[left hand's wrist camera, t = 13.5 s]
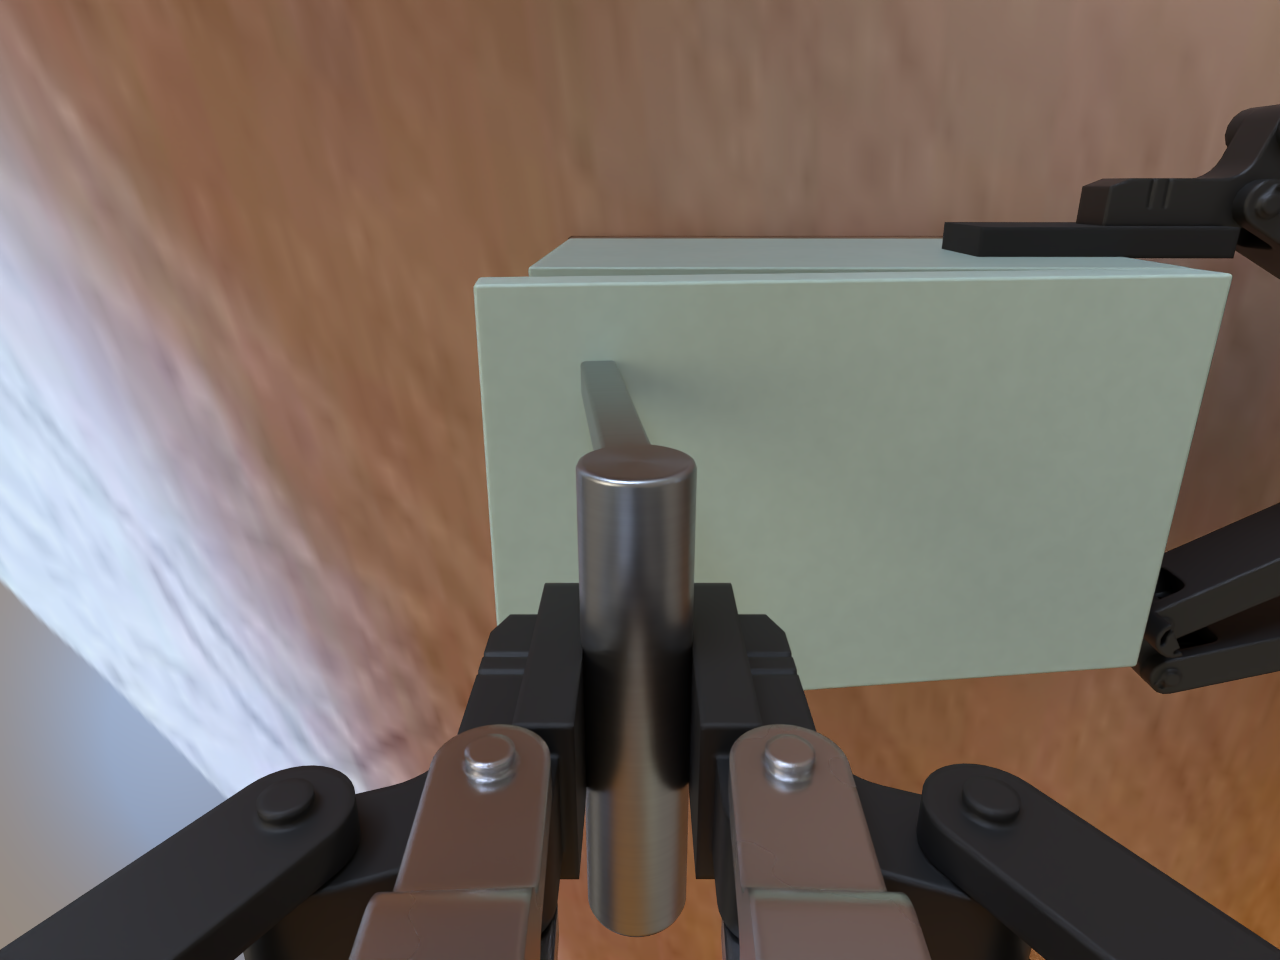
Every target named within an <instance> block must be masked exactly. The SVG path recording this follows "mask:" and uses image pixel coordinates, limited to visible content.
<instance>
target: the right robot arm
mask: <svg viewBox="0 0 1280 960" xmlns="http://www.w3.org/2000/svg"><path fill="white" fill-rule="evenodd" d="M1225 141H1226V145H1227V149H1226V151H1225V153H1224V154H1223V156H1222V158H1221V159H1220V161H1219V162H1218V163H1217V165H1216V166H1215V167H1214V168H1213V169H1212V170H1211V171H1209V172H1208V173H1206V174H1204V175H1203V176H1200V177H1197V178H1192V179H1191V178H1125V179H1101V180H1098V181H1096V182H1093V183H1090V184H1088V185H1085V186H1083V187H1082V193H1081V198H1080V204H1079V209H1078V215H1077V221H1076V222H945V225H944V233H943V241H942V249H945V250H949V251H954V252H958V253H962V254H967V255H971V256H976V257H1126V258H1233V257H1234V253H1235V250H1236V251H1237V252H1239V253H1240V254H1242V255H1243V256H1245V257H1246V258H1248V259H1249V260H1251V261H1253V262H1254V263H1256V264H1257V265H1259V266H1260V267H1262V268H1263V269H1265V270H1266V271H1268V272H1269V273H1271V274H1272V275H1274V276H1275V277H1277V278H1279V279H1280V104H1279V105H1272V106H1264V107H1256V108H1249V109H1247V110H1244V111H1241V112H1240V113H1239V114H1237V115H1236V116H1235V117H1234V118H1233V119H1232V120H1231V122H1230V123H1229V125H1228V127H1227V130H1226V134H1225ZM1131 668H1132V669H1133V670H1134V671H1135V672H1136V673H1137V674H1138V675H1139V676H1140V677H1141V678H1142V679H1143V680H1144V681H1146V682H1147V683H1148V684H1149V685H1150V686H1151V687H1152V688H1153V689H1154V690H1155V691H1156V692H1159V693H1162V694H1171V693H1175V692H1180V691H1185V690H1190V689H1195V688H1200V687H1204V686H1209V685H1214V684H1219V683H1224V682H1228V681H1233V680H1238V679H1243V678H1248V677H1253V676H1257V675H1262V674H1267V673H1272V672H1277V671H1280V503H1278V504H1276V505H1273V506H1271V507H1269V508H1266V509H1264V510H1262V511H1260V512H1257V513H1255V514H1253V515H1250V516H1248V517H1246V518H1244V519H1241V520H1239V521H1237V522H1234V523H1232V524H1230V525H1228V526H1225V527H1223V528H1221V529H1218V530H1216V531H1214V532H1211V533H1209V534H1207V535H1205V536H1202V537H1200V538H1198V539H1195V540H1193V541H1191V542H1189V543H1186V544H1184V545H1182V546H1179V547H1177V548H1175V549H1173V550H1170V551H1168V552H1166V553H1164V556H1163V560H1162V564H1161V568H1160V572H1159V576H1158V580H1157V584H1156V588H1155V592H1154V596H1153V600H1152V604H1151V608H1150V612H1149V616H1148V620H1147V624H1146V628H1145V633H1144V637H1143V641H1142V645H1141V649H1140V653H1139V657H1138V661H1137V664H1136V666H1133V667H1131Z"/></svg>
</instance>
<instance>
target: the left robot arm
mask: <svg viewBox="0 0 1280 960" xmlns="http://www.w3.org/2000/svg"><path fill="white" fill-rule="evenodd" d="M688 783H689V796H690V809H691V822H692V835H693V848H694V861H695V873H696V879H715V885H716V895H717V904H718V909H719V912H720V915H721V917H722V926H721V942H722V958H723V960H1030V959H1029V956H1030V952H1031V948H1033V949H1034V950H1035V951H1036V952H1037V953H1038V954H1040V955H1041V956H1042V957H1043V958H1044V959H1046V960H1280V950H1279V949H1278V948H1276V947H1275V946H1273V945H1272V944H1270V943H1269V942H1267V941H1266V940H1264V939H1263V938H1261V937H1260V936H1258V935H1257V934H1255V933H1254V932H1252V931H1251V930H1249V929H1248V928H1246V927H1245V926H1243V925H1242V924H1240V923H1239V922H1237V921H1235V920H1234V919H1232V918H1231V917H1229V916H1228V915H1226V914H1225V913H1223V912H1222V911H1220V910H1219V909H1217V908H1216V907H1214V906H1213V905H1211V904H1210V903H1208V902H1207V901H1205V900H1204V899H1202V898H1201V897H1199V896H1198V895H1196V894H1195V893H1193V892H1192V891H1190V890H1189V889H1187V888H1186V887H1184V886H1183V885H1181V884H1180V883H1178V882H1177V881H1175V880H1174V879H1172V878H1171V877H1169V876H1168V875H1166V874H1165V873H1163V872H1162V871H1160V870H1159V869H1157V868H1156V867H1154V866H1152V865H1151V864H1149V863H1148V862H1146V861H1145V860H1143V859H1142V858H1140V857H1139V856H1137V855H1136V854H1134V853H1133V852H1131V851H1130V850H1128V849H1127V848H1125V847H1124V846H1122V845H1121V844H1119V843H1118V842H1116V841H1115V840H1113V839H1112V838H1110V837H1109V836H1107V835H1106V834H1104V833H1103V832H1101V831H1100V830H1098V829H1097V828H1095V827H1094V826H1092V825H1091V824H1089V823H1088V822H1086V821H1085V820H1083V819H1082V818H1080V817H1079V816H1077V815H1076V814H1074V813H1073V812H1071V811H1069V810H1068V809H1066V808H1065V807H1063V806H1062V805H1060V804H1059V803H1057V802H1056V801H1054V800H1053V799H1051V798H1050V797H1048V796H1047V795H1045V794H1044V793H1042V792H1041V791H1039V790H1038V789H1036V788H1035V787H1033V786H1032V785H1030V784H1029V783H1027V782H1025V781H1024V780H1022V779H1020V778H1019V777H1016V776H1014V775H1012V774H1010V773H1008V772H1005V771H1002V770H999V769H996V768H993V767H989V766H984V765H977V764H953V765H949V766H945V767H942V768H940V769H937V770H936V771H934V772H933V773H931V774H930V775H929V777H928V778H927V779H926V781H925V783H924V785H923V790H922V795H921V794H916V793H912V792H908V791H903V790H899V789H895V788H891V787H886V786H882V785H879V784H875V783H872V782H869V781H867V780H864V779H861V778H859V777H857V776H855V775H853V774H852V771H851V768H850V765H849V762H848V760H847V757H846V756H845V754H844V753H843V751H842V750H841V749H840V748H839V747H838V746H837V745H836V744H835V743H834V742H832V741H831V740H830V739H829V738H827V737H825V736H823V735H822V734H820V733H817V732H816V729H815V726H814V722H813V719H812V716H811V713H810V710H809V707H808V703H807V700H806V697H805V694H804V691H803V687H802V684H801V681H800V678H799V675H797V668H796V665H795V662H794V659H793V657H792V653H791V649H790V646H789V643H788V640H787V637H786V634H785V632H784V631H783V630H782V629H781V628H780V627H779V626H778V625H777V624H776V623H775V622H774V621H773V620H771V619H770V618H769V617H768V616H767V615H766V614H738V611H737V606H736V602H735V597H734V593H733V588H732V584H731V583H694V605H693V642H692V661H691V700H690V739H689V778H688ZM586 792H587V773H586V737H585V702H584V666H583V647H582V645H581V635H580V601H579V583H545V584H544V588H543V592H542V597H541V601H540V605H539V610H538V614H510V615H509V616H508V617H507V618H506V619H505V620H503V621H502V622H501V623H500V624H499V625H498V626H497V627H496V628H495V629H494V630H493V631H492V632H491V633H490V636H489V639H488V642H487V645H486V648H485V651H484V657H483V658H482V661H481V664H480V667H479V670H478V675H477V676H476V679H475V682H474V685H473V688H472V691H471V695H470V698H469V701H468V704H467V707H466V710H465V713H464V716H463V719H462V722H461V725H460V728H459V731H458V735H457V736H455V737H453V738H451V739H450V740H449V741H448V742H446V743H445V744H444V745H443V746H442V747H441V748H440V749H439V750H438V751H437V753H436V754H435V756H434V757H433V760H432V762H431V765H430V768H429V770H428V771H427V772H425V773H423V774H421V775H419V776H417V777H415V778H413V779H411V780H408V781H406V782H403V783H400V784H396V785H392V786H389V787H384V788H380V789H376V790H371V791H367V792H363V793H359V794H355V790H354V786H353V784H352V782H351V781H350V779H349V778H348V777H347V776H346V775H344V774H343V773H341V772H340V771H337V770H335V769H333V768H329V767H324V766H299V767H293V768H288V769H284V770H280V771H278V772H275V773H272V774H269V775H267V776H265V777H263V778H261V779H258V780H257V781H255V782H253V783H252V784H250V785H248V786H247V787H245V788H244V789H242V790H241V791H239V792H238V793H236V794H235V795H233V796H232V797H230V798H229V799H227V800H226V801H224V802H223V803H221V804H220V805H218V806H217V807H215V808H214V809H212V810H211V811H209V812H207V813H206V814H204V815H203V816H202V817H200V818H198V819H197V820H195V821H194V822H193V823H191V824H189V825H188V826H186V827H185V828H183V829H182V830H180V831H179V832H177V833H176V834H174V835H173V836H171V837H170V838H168V839H167V840H165V841H164V842H162V843H161V844H159V845H158V846H156V847H155V848H153V849H152V850H150V851H149V852H147V853H146V854H144V855H143V856H141V857H140V858H138V859H137V860H135V861H134V862H132V863H131V864H129V865H127V866H126V867H125V868H123V869H121V870H120V871H118V872H117V873H115V874H114V875H112V876H111V877H109V878H108V879H106V880H105V881H103V882H102V883H100V884H99V885H97V886H96V887H94V888H93V889H91V890H90V891H88V892H87V893H85V894H84V895H82V896H81V897H79V898H78V899H76V900H75V901H73V902H72V903H70V904H69V905H67V906H66V907H64V908H63V909H61V910H60V911H58V912H57V913H55V914H54V915H52V916H51V917H49V918H48V919H46V920H44V921H43V922H42V923H40V924H38V925H37V926H35V927H34V928H32V929H31V930H29V931H28V932H26V933H25V934H23V935H22V936H20V937H19V938H17V939H16V940H14V941H13V942H11V943H10V944H8V945H7V946H5V947H4V948H2V949H1V950H0V960H234V959H236V958H237V957H238V956H239V955H240V954H241V953H244V957H245V960H557V959H558V942H559V926H558V905H557V900H558V891H559V882H560V879H579V874H580V862H581V850H582V839H583V827H584V815H585V803H586Z"/></svg>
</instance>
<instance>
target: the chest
mask: <svg viewBox="0 0 1280 960" xmlns="http://www.w3.org/2000/svg"><path fill="white" fill-rule="evenodd" d="M942 241H943V236H571V237H569V238H568V240H567V241H566V242H564V243H563V244H561V245H560V246H559V247H557V248H556V249H554V250H553V251H552V252H550V253H549V254H547V255H546V256H545V257H543V258H542V259H540V260H539V261H538V262H536V263H535V264H533V265H532V266H531V267H529V277H549V276H627V275H704V274H781V273H859V272H936V271H1014V270H1091V269H1168V268H1188V267H1183V266H1176V265H1170V264H1164V263H1157V262H1151V261H1145V260H1138V259H1132V258H1126V257H976V256H971V255H967V254H962V253H958V252H954V251H949V250H945V249H942Z"/></svg>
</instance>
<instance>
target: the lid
mask: <svg viewBox="0 0 1280 960" xmlns="http://www.w3.org/2000/svg"><path fill="white" fill-rule="evenodd" d="M1231 281H1232V275H1231V274H1229V273H1222V272H1214V271H1207V270H1199V269H1192V268H1168V269H1091V270H1014V271H936V272H859V273H781V274H704V275H627V276H549V277H481V278H479V279H478V280H477V282H476V284H475V285H474V302H475V317H476V331H477V345H478V359H479V374H480V388H481V402H482V417H483V431H484V445H485V460H486V474H487V488H488V502H489V517H490V531H491V545H492V560H493V574H494V588H495V603H496V617H497V626H498V625H499V624H500V623H501V622H502V621H503V620H505V619H506V618H507V617H508V616H509V615H510V614H538V610H539V605H540V601H541V597H542V592H543V588H544V584H545V583H579V601H580V635H581V645H582V647H583V666H584V702H585V737H586V773H587V792H586V803H585V806H586V840H587V874H588V899H589V904H590V907H591V910H592V912H593V913H594V915H595V916H596V918H597V919H598V920H599V921H600V923H601V924H603V925H604V926H605V927H606V928H608V929H609V930H611V931H613V932H615V933H617V934H621V935H624V936H630V937H644V936H650V935H653V934H656V933H659V932H661V931H663V930H665V929H666V928H668V927H669V926H670V925H672V924H673V923H674V922H675V920H676V919H677V918H678V916H679V915H680V913H681V912H682V910H683V908H684V905H685V900H686V876H687V837H688V799H689V783H688V778H689V739H690V700H691V661H692V642H693V605H694V583H731V584H732V588H733V593H734V597H735V602H736V606H737V611H738V614H766V615H767V616H768V617H769V618H770V619H771V620H773V621H774V622H775V623H776V624H777V625H778V626H779V627H780V628H781V629H782V630H783V631H784V632H785V634H786V637H787V640H788V643H789V646H790V649H791V653H792V657H793V659H794V662H795V665H796V668H797V675H799V678H800V681H801V684H802V687H803V690H814V689H828V688H842V687H856V686H870V685H883V684H897V683H911V682H925V681H939V680H953V679H967V678H981V677H994V676H1008V675H1022V674H1036V673H1050V672H1064V671H1078V670H1092V669H1106V668H1119V667H1133V666H1136V664H1137V661H1138V657H1139V653H1140V649H1141V645H1142V641H1143V637H1144V633H1145V628H1146V624H1147V620H1148V616H1149V612H1150V608H1151V604H1152V600H1153V596H1154V592H1155V588H1156V584H1157V580H1158V576H1159V572H1160V568H1161V564H1162V560H1163V556H1164V552H1165V548H1166V544H1167V540H1168V536H1169V532H1170V528H1171V523H1172V519H1173V515H1174V511H1175V507H1176V503H1177V499H1178V495H1179V491H1180V487H1181V483H1182V479H1183V475H1184V471H1185V467H1186V463H1187V459H1188V455H1189V451H1190V447H1191V443H1192V439H1193V435H1194V431H1195V427H1196V423H1197V418H1198V414H1199V410H1200V406H1201V402H1202V398H1203V394H1204V390H1205V386H1206V382H1207V378H1208V374H1209V370H1210V366H1211V362H1212V358H1213V354H1214V350H1215V346H1216V342H1217V338H1218V334H1219V330H1220V326H1221V322H1222V317H1223V313H1224V309H1225V305H1226V301H1227V297H1228V293H1229V289H1230V285H1231Z"/></svg>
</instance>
